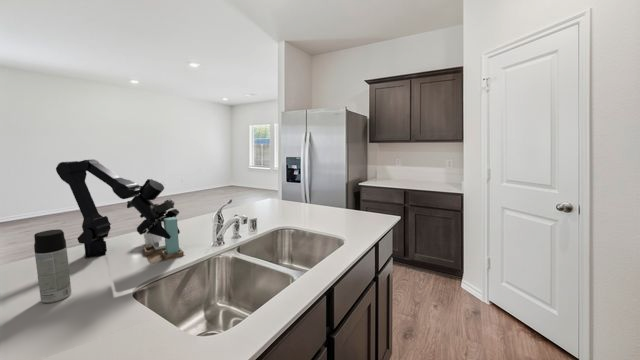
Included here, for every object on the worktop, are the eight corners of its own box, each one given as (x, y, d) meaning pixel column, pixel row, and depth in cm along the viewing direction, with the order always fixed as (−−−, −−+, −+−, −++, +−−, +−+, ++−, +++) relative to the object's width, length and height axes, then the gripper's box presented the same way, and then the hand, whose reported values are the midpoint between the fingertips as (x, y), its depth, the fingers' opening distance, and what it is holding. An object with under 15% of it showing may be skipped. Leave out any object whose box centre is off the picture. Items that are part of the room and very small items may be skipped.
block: (168, 257, 108) (165, 220, 106) (166, 254, 111) (163, 218, 109) (179, 255, 111) (177, 218, 109) (176, 252, 114) (174, 216, 112)
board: (150, 266, 102) (149, 260, 102) (142, 252, 116) (141, 246, 115) (185, 258, 110) (184, 252, 110) (173, 245, 124) (173, 240, 123)
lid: (155, 249, 112) (155, 243, 111) (152, 244, 117) (151, 238, 117) (175, 245, 116) (174, 239, 116) (170, 241, 122) (170, 235, 122)
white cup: (148, 247, 122) (146, 225, 120) (140, 243, 126) (139, 222, 125) (166, 242, 128) (165, 221, 127) (159, 238, 133) (157, 218, 131)
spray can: (69, 289, 86) (62, 227, 84) (74, 296, 82) (66, 231, 79) (39, 298, 81) (30, 232, 79) (42, 306, 77) (33, 237, 74)
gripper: (141, 198, 99) (172, 229, 99) (173, 190, 117) (199, 216, 118) (123, 219, 100) (153, 249, 101) (157, 207, 119) (183, 233, 119)
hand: (174, 235), depth 110 cm, fingers closed on block, 6 cm apart
